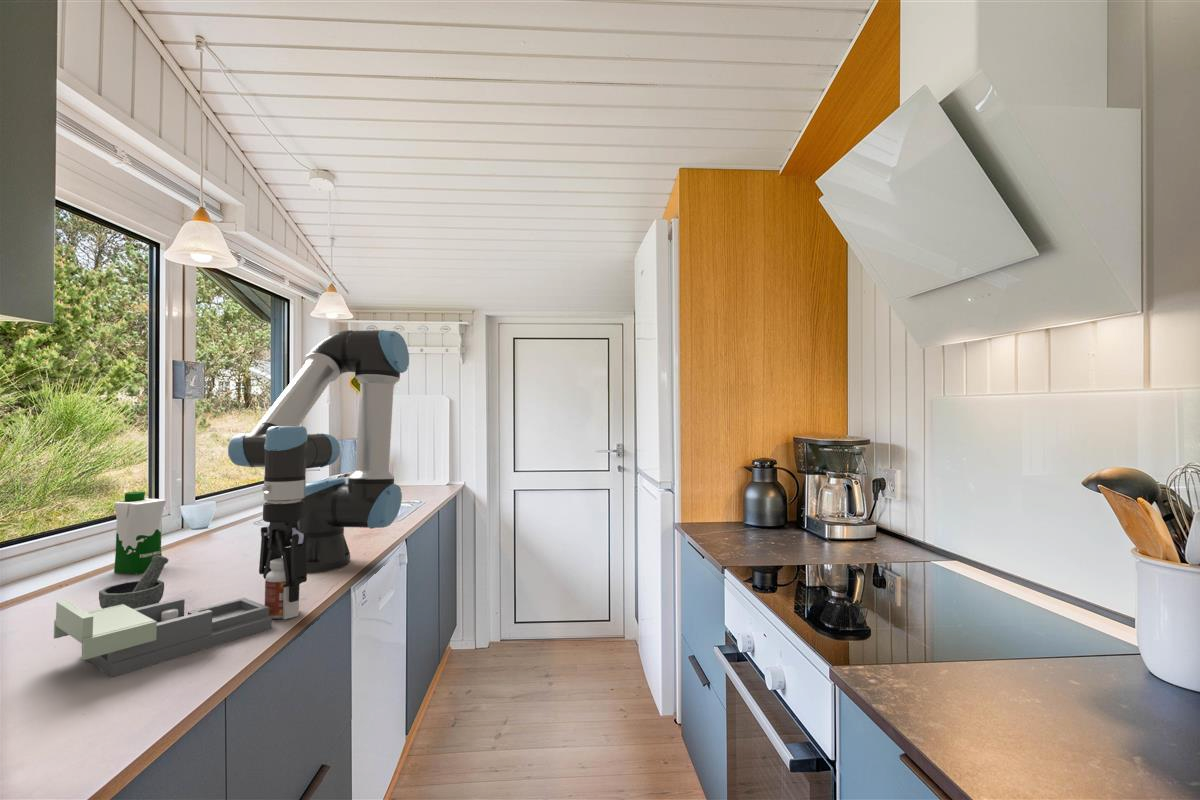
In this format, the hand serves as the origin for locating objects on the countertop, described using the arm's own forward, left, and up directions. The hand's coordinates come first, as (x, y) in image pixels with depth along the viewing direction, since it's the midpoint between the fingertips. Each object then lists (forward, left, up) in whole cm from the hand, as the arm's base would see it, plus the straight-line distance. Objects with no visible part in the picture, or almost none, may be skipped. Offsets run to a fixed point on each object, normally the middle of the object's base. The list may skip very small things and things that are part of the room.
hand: (281, 613), depth 114 cm
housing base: (+17, -1, 0) cm, 17 cm away
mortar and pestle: (+18, -20, 0) cm, 27 cm away
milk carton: (+4, -63, 0) cm, 63 cm away
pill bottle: (0, 0, 0) cm, 1 cm away
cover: (+28, -1, +4) cm, 28 cm away
